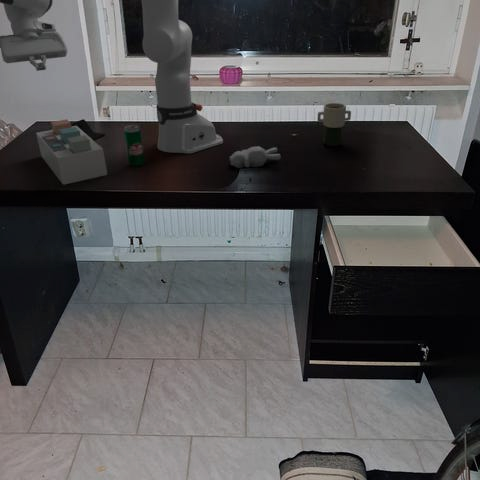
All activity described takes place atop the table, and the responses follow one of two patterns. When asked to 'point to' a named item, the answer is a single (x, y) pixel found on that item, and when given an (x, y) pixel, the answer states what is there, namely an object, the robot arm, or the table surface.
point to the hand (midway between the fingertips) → (41, 69)
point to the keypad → (71, 158)
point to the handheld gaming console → (88, 130)
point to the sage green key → (79, 144)
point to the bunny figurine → (253, 157)
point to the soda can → (134, 145)
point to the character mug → (333, 122)
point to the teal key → (68, 134)
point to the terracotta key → (60, 126)
